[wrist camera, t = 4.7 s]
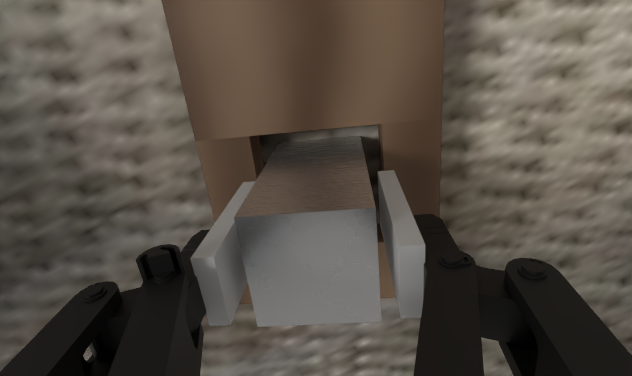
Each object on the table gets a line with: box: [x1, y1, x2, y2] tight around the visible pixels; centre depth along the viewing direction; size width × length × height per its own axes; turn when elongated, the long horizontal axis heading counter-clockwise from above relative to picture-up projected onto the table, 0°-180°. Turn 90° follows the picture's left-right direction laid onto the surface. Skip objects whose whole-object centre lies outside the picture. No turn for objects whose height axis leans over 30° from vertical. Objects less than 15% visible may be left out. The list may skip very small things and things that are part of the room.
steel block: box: [234, 136, 381, 327], centre depth 16 cm, size 4×4×9 cm
